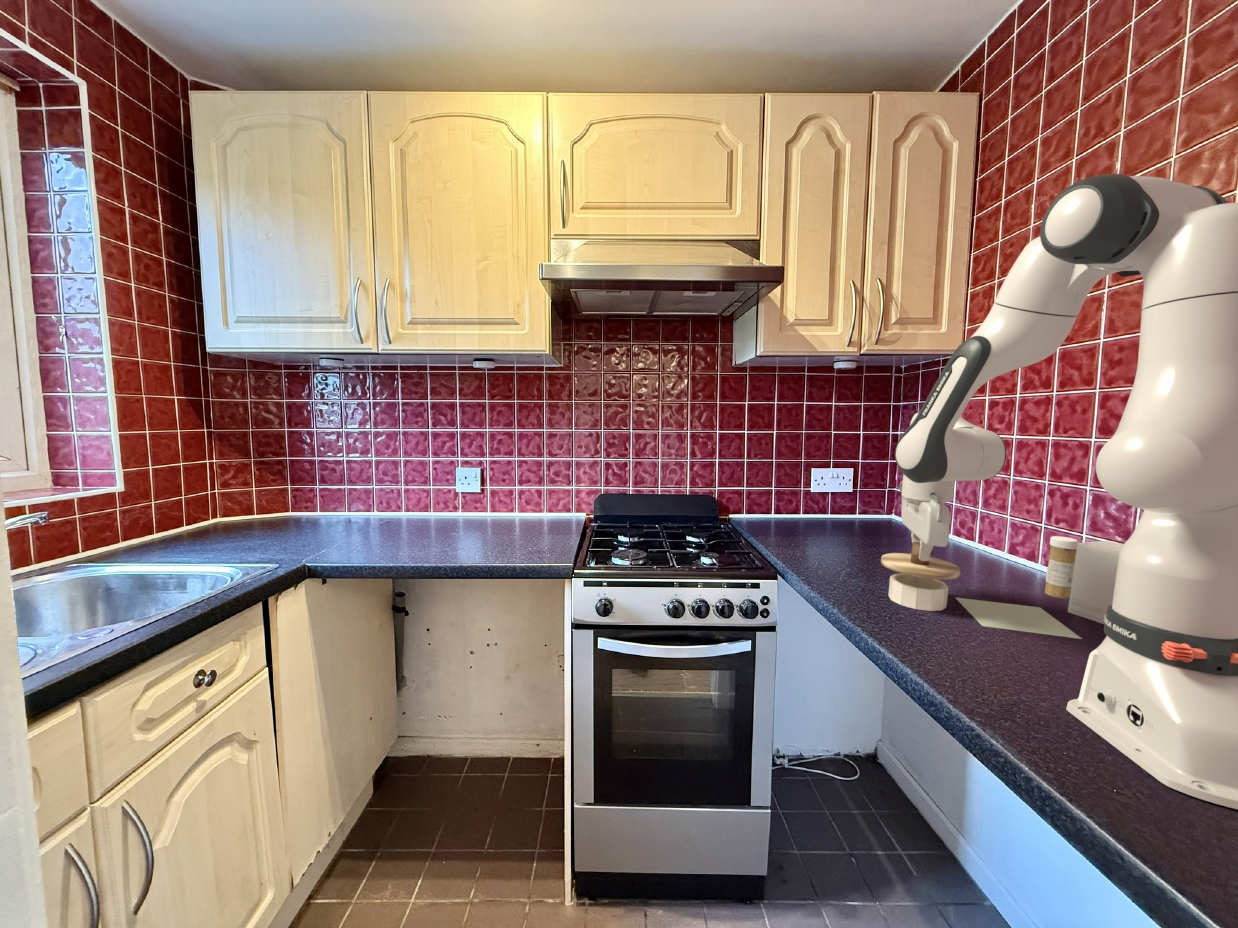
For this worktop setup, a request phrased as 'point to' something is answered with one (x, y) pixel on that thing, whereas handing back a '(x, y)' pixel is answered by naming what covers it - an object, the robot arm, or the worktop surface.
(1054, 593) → the sprinkles bottle
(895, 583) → the bowl
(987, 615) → the mat
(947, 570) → the lid
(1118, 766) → the worktop surface
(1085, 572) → the supplement box
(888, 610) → the worktop surface
